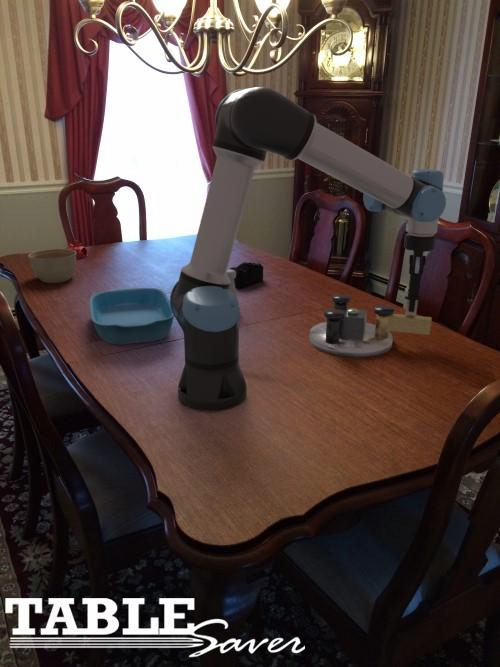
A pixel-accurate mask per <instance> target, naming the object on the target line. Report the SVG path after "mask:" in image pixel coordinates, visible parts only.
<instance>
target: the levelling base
mask: <svg viewBox="0 0 500 667" xmlns="http://www.w3.org/2000/svg"><path fill="white" fill-rule="evenodd" d="M351 299H352V298H351V296H350V295H348V294H343V293H342V294H341V293H339V294H337V293H336V294H333V295H331V301H332V302H333V303H334V304H333V308H331V309H330V308H329V309H326V310H324V312H323V317H324V318H326V321H324V322H320V323H318V324H316V325H313V326H312V327H311V328H310V330H309V342H310V344H311V345H312V346H313V347H315V348H316V349H318V350H320V351H321V352H325V353H328V354H330V355H331V354H332V355H335V356H339V357H347V358H368V357H370V358H371V357H375V356H380V355H383V354H385V353H387V352H389V351H390V350H391V349H392V347H393V341H394V340H393V339H394V337H393V334H392V333H391V331H389V335H388V338H386V339H380V338H376V337H375V336H374V335H375V325H376V324H373V323H369V322H367V316H368V315H367V314H368V310H367V309H358V308H353V307H352V308H348V303H350V302H351V301H352V300H351Z"/></svg>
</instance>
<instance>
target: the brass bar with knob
mask: <svg viewBox="0 0 500 667" xmlns="http://www.w3.org/2000/svg"><path fill="white" fill-rule="evenodd" d="M373 313H374V314H376V315H375V316H376V317H375V324H374V325H375V335H374V336H375V337H376V338H380V339H386V338H388V335H389V332H397V333H408V334H416V335H417V334H418V335H424V336H425V335H426V336H430V335H431V329H432V328H431V327H432V317H431V316H423V315H416V316H412V315H405V314H403V313H402V314H401V313H399V314H398V313H395V308H394V307H393V306H392V305H383V304H382V305H380V304H379V305H375V306H374V307H373Z"/></svg>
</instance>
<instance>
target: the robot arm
mask: <svg viewBox="0 0 500 667" xmlns="http://www.w3.org/2000/svg"><path fill="white" fill-rule="evenodd" d="M214 120H215V122H214V123H215V128H216V130H215V135H214V138H213V139H214V140H213V143H212V149H213V152H214V154H215V156H216V161H215V164H214V168H213V171H212V172H213V173H212V177H211V179H210V183H209V187H208V191H207V195H206V199H205V204H204V207H203V212H202V215H201V218H200V222H199V227H198V231H197V235H196V237H195V241H194V245H193V246H194V247H193V250H192V254H191V257H190V261H189V263H188V264H186V265H184V266H182V267H181V269H180V273H179V278H178V280H177V282H176V283H175V284H174V285H173V287H172V289H171V292H170V296H169V301H170V306H171V310H172V313H173V315H174V318H175V319H176V321H177V323H178V325H179V327H180V328H181V330H182V333H183V340H184V341H183V343H184V344H183V346H184V366H183V370H182V373H181V376H180V379H179V382H178V385H177V398H178V400H179V401H180V403H181V404H182V405H184V406H185V407H188V408H189V409H193V410H196V411H201V412H203V411H204V412H219V411H226V410H229V409H233V408H235V407H237V406H239V405H241V404H242V403H243V402H244V401H245V400H246V398H247V392H248V391H247V389H248V388H247V383H246V379H245V377H244V374H243V372H242V368H241V365H240V363H239V362H240V360H239V359H240V353H239V352H240V344H239V343H240V338H239V337H240V315H241V313H240V310H241V309H240V306H239V299H238V296H237V297H236V295H235V294H234V293H233V292H231V291H230V290H228V289H229V286H230V279H229V278H228V276H227V273H226V272H227V270H228V268H229V264H230V259H231V257H232V254H233V250H234V246H235V243H236V240H237V236H238V235H237V234H238V231H239V228H240V224H241V221H242V217H243V213H244V210H245V208H246V207H245V205H246V202H247V199H248V197H249V196H248V195H249V192H250V188H251V184H252V182H253V177H254V174H255V171H256V169H257V168H258V167H259V166H262V165H263V164H264V163H265V161H266V160H265V159H266V156H267V153H268V152H269V153H273V154H275V155H278V156H281V157H283V158H285V159H287V160H289V161H292V162H293V161H295V160H297V159H298V160H300V161H301V162H304V163H306V164H308V166H309V165H310V166H312V167H314V168H315V169H318V170H319V171H321V172H323V173H325V174H327V175H329V176H330V177H332V178H334V179H336V180H338V181H340V182H341V183H344V184H346V185H348V186H349V187H351V188H353V189H356V190H357V191H359V192H360V193H363V198H362V200H363V203H364V207H365V209H367V211H369V212H376V213H381V212H387V213H391V214H393V215H394V214H395V215H396V216H397V215H398V216H403V217H406V218H407V219H404V220H403V223H404V224H406V225H405V232H406V233H405V234H404V241H403V242H404V243H403V247H404V249H405V250H407V251H413V252H412V254H409V259H408V261H409V262H408V264H409V268H408V274H410V275H409V283H408V289H407V296H406V295H405V296H404V300H406V307H405V312H404V315H412V316H417V310H418V303H419V299H420V298H421V294H420V287H421V280H422V275H423V274H424V267H425V265H426V260H427V258H426V255H424V253H425V252H432V251H434V250H435V246H436V238H437V237H436V235H435V234H437V232H438V225H439V218H440V217H441V216H442V215H443V213H444V212H445V210H446V209H445V208H446V205H447V199H446V198H447V197H446V195H445V193H444V192H443V190H444V188H443V187H444V173H443V171H441V170H438V169H427V168H425V169H422V168H421V169H414V170H413V171H412V172H411V175H409V174H407V173H405V172H403V171H402V170H400V169H399V168H396V167H394V166H392V165H391V164H389V163H388V162H386V161H385V160H382V159H381V158H379V157H377V156H376V155H374V154H372V153H371V152H369V151H367V150H365V149H364V148H361V147H360V146H358V145H356V144H354V143H353V142H352V141H350V140H347V139H346V138H345V137H343V136H341V135H339V134H337V133H335V131H332V130H331V129H329V128H327V127H325V126H323V125H321V124H320V123H319V122H317V117H316V115H315V114H314V113H312V112H310V111H308V110H307V109H306V108H304V107H302V106H300V105H298V104H297V103H296V102H294V101H292V100H291V99H289V97H286V96H285V95H283V94H282V93H280V92H279V91H276V90H274V89H272V88H269V87H265V86H256V87H250V88H247V87H246V88H239V89H236V90H234V91H232V92H230V93H229V94H227V95H226V96H224V98H223V99H222V100H221V101H220V103H219V105H218V107H217V109H216V111H215V117H214Z"/></svg>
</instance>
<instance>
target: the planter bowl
mask: <svg viewBox="0 0 500 667" xmlns="http://www.w3.org/2000/svg"><path fill="white" fill-rule="evenodd" d="M76 255H77V253H76V251H74V250H70V249H65V248H51V249H50V248H49V249H48V248H47V249H42V250H37V251H33V252H31V253H29V254H28V260H29V263H30V267H31V269H32V271H33V273H34V274H35V275H36V277H37V278H38V279H39V280H40V281H41V282H43V283H45V284H46V283H47V284H48V283H49V284H58V283H64V282H66V281H69V280H70V279H71V278H72V277H73V275H74V273H75V270H76V266H77V259H76Z"/></svg>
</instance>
